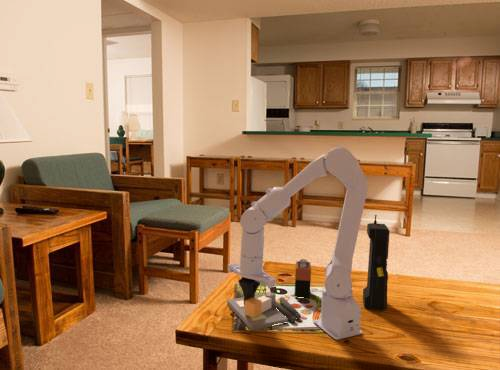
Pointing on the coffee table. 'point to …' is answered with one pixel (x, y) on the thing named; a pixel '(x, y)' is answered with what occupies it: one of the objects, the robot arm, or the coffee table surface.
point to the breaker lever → (259, 304)
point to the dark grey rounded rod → (290, 308)
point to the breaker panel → (260, 321)
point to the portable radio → (377, 267)
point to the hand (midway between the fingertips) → (248, 305)
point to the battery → (302, 278)
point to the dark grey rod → (285, 312)
